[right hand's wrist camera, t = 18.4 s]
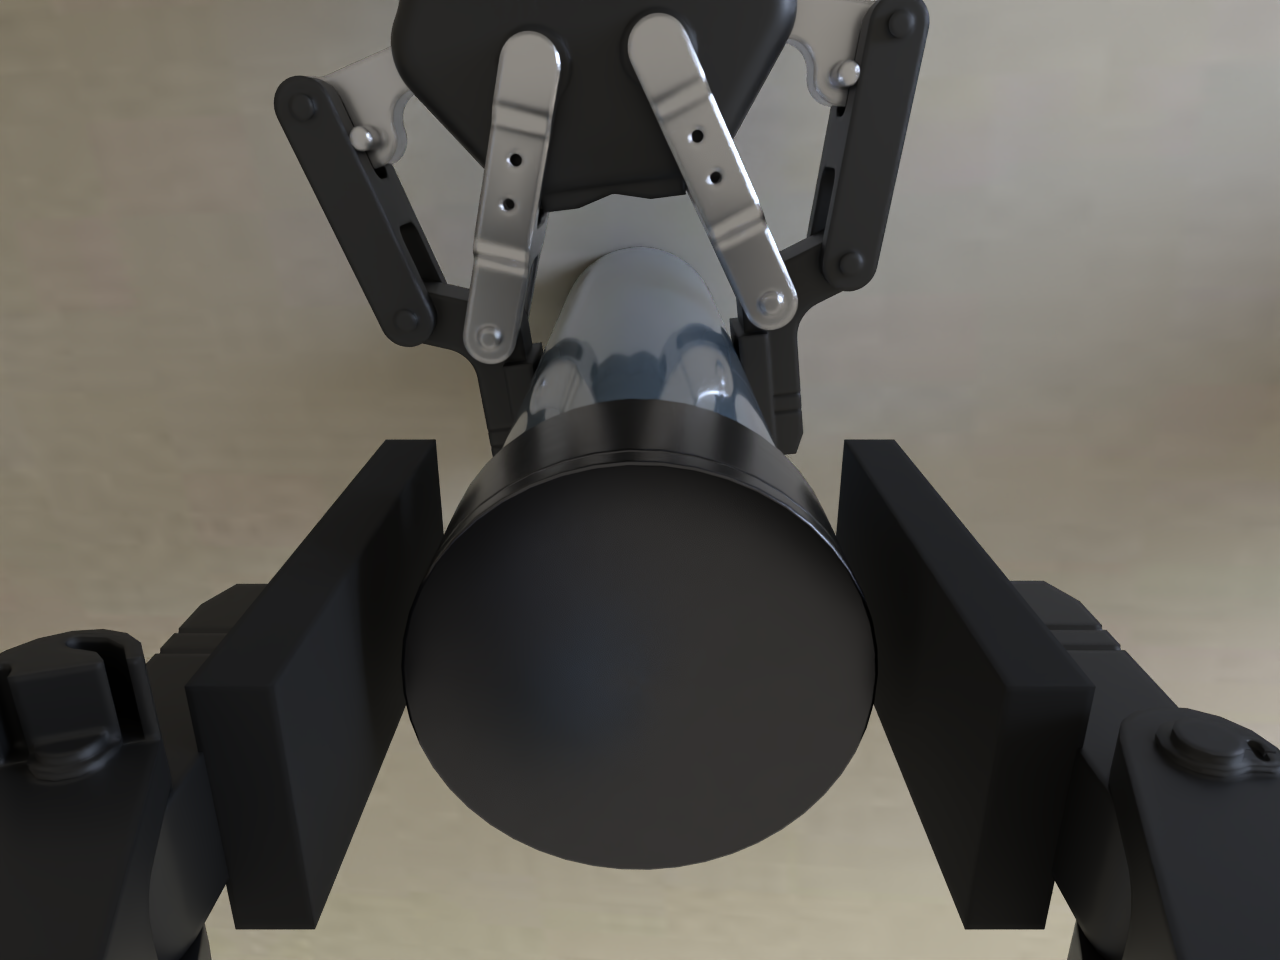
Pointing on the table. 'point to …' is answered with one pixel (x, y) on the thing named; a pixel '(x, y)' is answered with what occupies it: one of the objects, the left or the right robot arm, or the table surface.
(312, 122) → the left robot arm
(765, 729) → the lid
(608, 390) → the blue-grey bottle
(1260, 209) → the table surface
